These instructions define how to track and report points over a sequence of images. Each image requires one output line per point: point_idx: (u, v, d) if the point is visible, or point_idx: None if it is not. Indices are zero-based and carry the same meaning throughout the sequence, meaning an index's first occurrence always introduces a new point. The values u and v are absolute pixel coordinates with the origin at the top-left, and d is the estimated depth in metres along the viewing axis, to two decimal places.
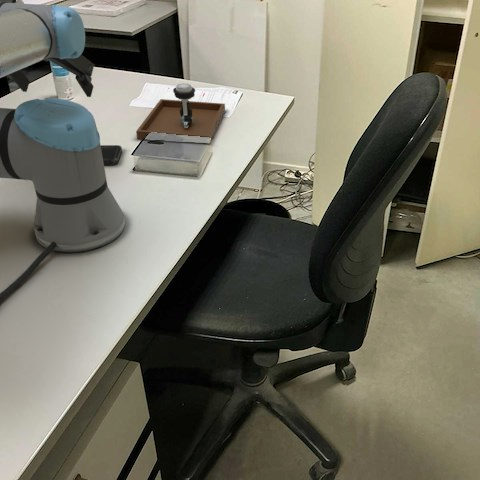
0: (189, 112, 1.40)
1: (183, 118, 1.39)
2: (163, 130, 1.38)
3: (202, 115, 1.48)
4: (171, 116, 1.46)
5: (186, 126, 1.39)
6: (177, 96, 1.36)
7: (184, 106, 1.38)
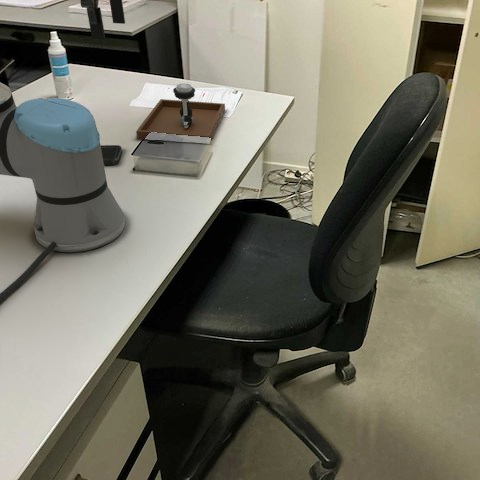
0: (189, 112, 1.40)
1: (183, 118, 1.39)
2: (163, 130, 1.38)
3: (202, 115, 1.48)
4: (171, 116, 1.46)
5: (186, 126, 1.39)
6: (177, 96, 1.36)
7: (184, 106, 1.38)
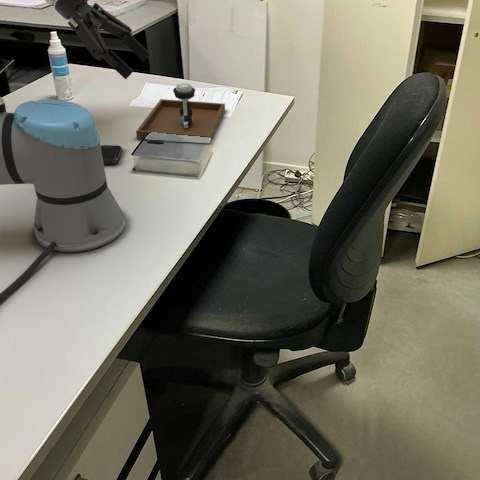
0: (189, 112, 1.40)
1: (183, 118, 1.39)
2: (163, 130, 1.38)
3: (202, 115, 1.48)
4: (171, 116, 1.46)
5: (186, 126, 1.39)
6: (177, 96, 1.36)
7: (184, 106, 1.38)
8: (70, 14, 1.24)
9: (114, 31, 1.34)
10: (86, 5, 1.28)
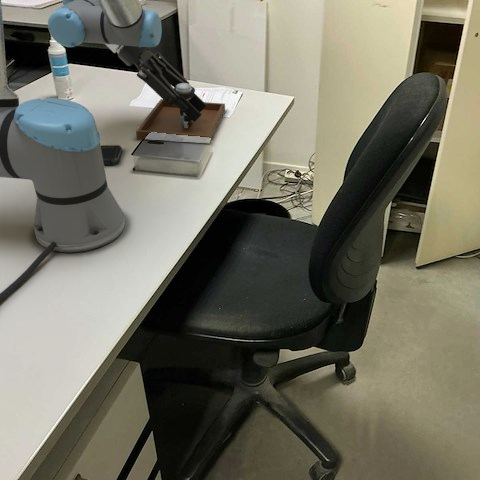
0: None
1: (183, 118, 1.39)
2: (163, 130, 1.38)
3: (202, 115, 1.48)
4: (171, 116, 1.46)
5: (186, 126, 1.39)
6: None
7: None
8: (133, 61, 1.29)
9: (171, 81, 1.38)
10: (146, 51, 1.34)
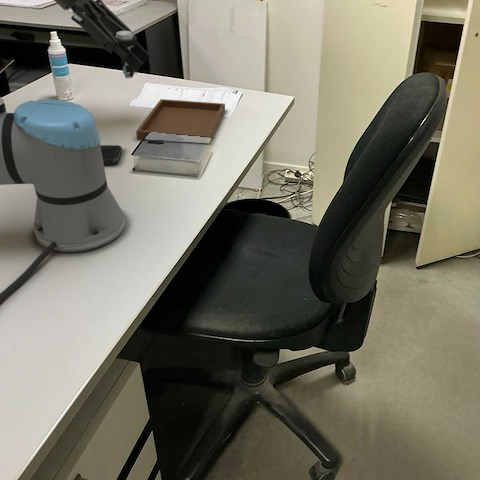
0: None
1: (125, 68, 1.33)
2: (163, 130, 1.38)
3: (202, 115, 1.48)
4: (171, 116, 1.46)
5: (128, 76, 1.33)
6: None
7: None
8: (68, 4, 1.23)
9: (112, 28, 1.32)
10: None
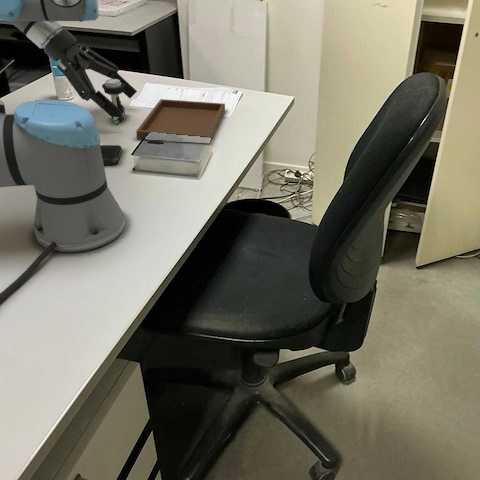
0: (119, 107, 1.41)
1: None
2: (163, 130, 1.38)
3: (202, 115, 1.48)
4: (171, 116, 1.46)
5: (116, 121, 1.40)
6: (106, 91, 1.37)
7: (113, 101, 1.39)
8: (59, 57, 1.30)
9: (101, 70, 1.41)
10: (74, 47, 1.35)
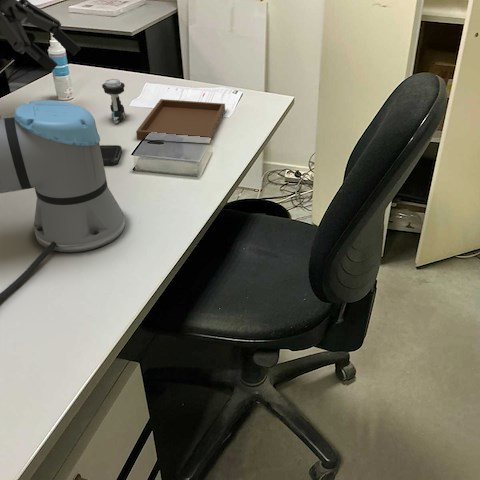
0: (119, 107, 1.41)
1: (113, 113, 1.40)
2: (163, 130, 1.38)
3: (202, 115, 1.48)
4: (171, 116, 1.46)
5: (116, 121, 1.40)
6: (106, 91, 1.37)
7: (113, 101, 1.39)
8: None
9: (42, 25, 1.35)
10: None
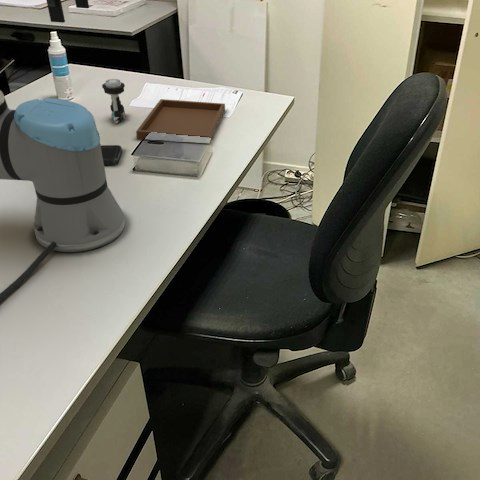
0: (119, 107, 1.41)
1: (113, 113, 1.40)
2: (163, 130, 1.38)
3: (202, 115, 1.48)
4: (171, 116, 1.46)
5: (116, 121, 1.40)
6: (106, 91, 1.37)
7: (113, 101, 1.39)
8: None
9: None
10: None
